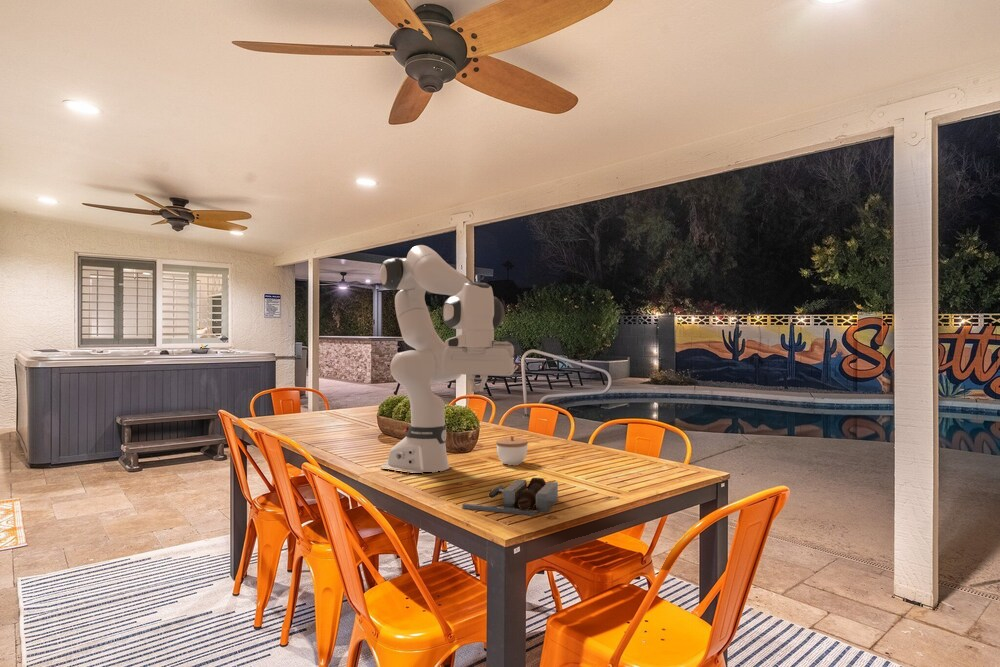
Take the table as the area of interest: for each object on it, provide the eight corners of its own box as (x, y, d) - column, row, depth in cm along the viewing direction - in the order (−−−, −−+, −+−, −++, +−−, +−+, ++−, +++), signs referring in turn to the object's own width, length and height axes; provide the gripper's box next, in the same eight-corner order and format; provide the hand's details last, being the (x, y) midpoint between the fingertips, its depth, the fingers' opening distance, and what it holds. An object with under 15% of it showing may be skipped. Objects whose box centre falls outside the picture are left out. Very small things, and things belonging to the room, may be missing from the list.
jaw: (485, 506, 142) (485, 488, 142) (500, 494, 154) (500, 477, 154) (513, 509, 140) (513, 491, 140) (527, 496, 151) (527, 479, 151)
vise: (462, 508, 141) (462, 489, 141) (483, 493, 155) (483, 476, 155) (543, 516, 134) (543, 497, 135) (557, 500, 148) (557, 482, 148)
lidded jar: (494, 466, 188) (494, 438, 188) (498, 459, 198) (498, 433, 198) (526, 467, 186) (526, 439, 187) (528, 460, 197) (528, 433, 197)
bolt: (521, 519, 139) (535, 500, 153) (538, 510, 138) (551, 492, 152) (509, 497, 140) (525, 481, 154) (526, 489, 138) (540, 473, 153)
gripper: (517, 341, 153) (517, 391, 153) (448, 340, 160) (448, 389, 160) (510, 341, 147) (510, 394, 147) (439, 340, 154) (439, 391, 154)
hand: (477, 391), depth 154 cm, fingers closed
